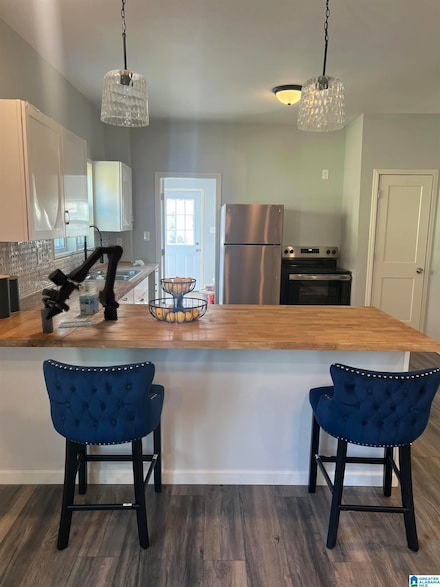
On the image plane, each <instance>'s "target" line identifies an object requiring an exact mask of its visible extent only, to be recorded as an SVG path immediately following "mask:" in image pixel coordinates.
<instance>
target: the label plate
mask: <svg viewBox="0 0 440 587" xmlns="http://www.w3.org/2000/svg"><path fill="white" fill-rule="evenodd" d="M94 322H95V320H94V319H92V320H78V321H77V320H76V321H62V322H60V324H59V326H58V328H59V329H66V328H67V329H68V328H77V327H78V328H79V327H92V326H94Z"/></svg>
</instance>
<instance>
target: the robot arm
mask: <svg viewBox="0 0 440 587" xmlns="http://www.w3.org/2000/svg"><path fill="white" fill-rule="evenodd" d="M123 254H124V249H123V247H122V246H121V245H119V244H118V245H116V244H111V245H109V246H96V247H95V249H94V250H93V251H92V252H91V253H90V254H89V256H88V257H87V258H86V259H85V260H84V261H83V263H81V265H79V266H77V267H75V268H74V269H73V270H71V271H70V272H69V273H68V274H65V273H64V272H63V271H62V270H61V269H60V268H55V270H54V271H52V272H51V273H49V274H48V277H47V279H48V280H49V281H50V282H51V283H53V285H55V286H56V287H60V288H58V289H55V288H51V289H47V288H43V290H42V292H41V295H42V296H44V297H42V299H41V300H40V301H41V302H42V303H43V305H44V308H52V309H51V310H50V312H49V314H48V315H47V317H46V320H49V319H50V318H54V317H56V316H58V315H60V314H62V313H64V312H66V313H68V312H69V311H70V310H71V309H70V308H71V307H70V305H69V304H67V303H66V302H67V301H69V300H70V299H71V298H70V296H71V295H72V294H73V292H74V291H79V292H80V290H81V289H80V284H82V283H84V281H85V280H86V279H87V277H88V274H89V272H90V270H91V269H92V268H93V267H94V266H95V265H96V263H97V262H98V261H99V260H100V259H101V258H102V256H104V255H106V257H107V261H108V262H107V268H106V275H105V282H104V287H103V289H102V290H98V292H99V293H98V298H99V305H101V306H102V308H104V310H103V319H104V321H117V320H118V319H119V317H118V309H119V308H120V306H121V305H120V303H119V302H118V301H117V300H116V294H115V290H114V288H115V283H116V275H117V270H118V264H119V262H120V261H121V259H122V256H123ZM69 280H70V281H69Z"/></svg>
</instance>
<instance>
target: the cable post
mask: <svg viewBox="0 0 440 587" xmlns="http://www.w3.org/2000/svg"><path fill="white" fill-rule="evenodd" d="M51 309H52V308H41V309H40V317H41V327H42V328H41V329H42V333H43V334H49V333H53V332H54V322H53V318H54V317H52V318H50V319H49V320H46V317H47V315H48V314H49V312H50V310H51Z"/></svg>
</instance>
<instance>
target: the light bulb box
mask: <svg viewBox="0 0 440 587" xmlns="http://www.w3.org/2000/svg"><path fill="white" fill-rule="evenodd" d="M98 297H99V293H98V292H87V293H83V294H81V295H79V297H78V298H79V299H78V300H79V311H80V312H79V313H80V315H94V314H95V313H98V312H100V302H99V298H98Z"/></svg>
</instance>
